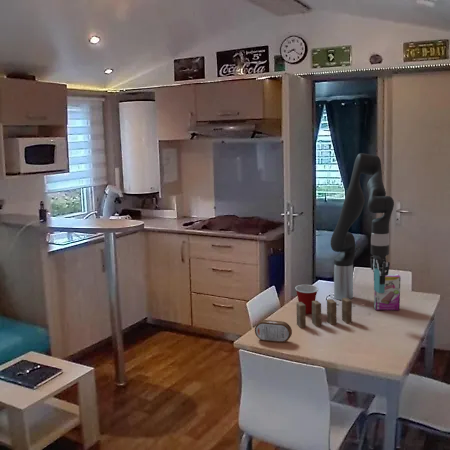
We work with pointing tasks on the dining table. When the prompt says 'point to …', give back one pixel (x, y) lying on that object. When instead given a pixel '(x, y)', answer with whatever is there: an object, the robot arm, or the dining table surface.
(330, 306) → the walnut domino
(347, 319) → the walnut domino
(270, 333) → the tin
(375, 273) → the teal domino
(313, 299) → the plastic cup
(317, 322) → the walnut domino
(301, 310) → the walnut domino
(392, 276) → the candy bar box
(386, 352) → the dining table surface
